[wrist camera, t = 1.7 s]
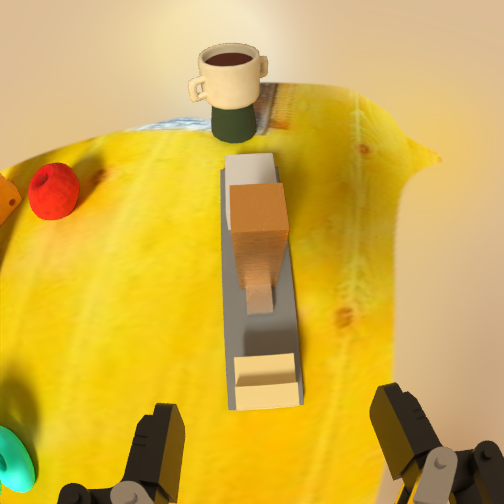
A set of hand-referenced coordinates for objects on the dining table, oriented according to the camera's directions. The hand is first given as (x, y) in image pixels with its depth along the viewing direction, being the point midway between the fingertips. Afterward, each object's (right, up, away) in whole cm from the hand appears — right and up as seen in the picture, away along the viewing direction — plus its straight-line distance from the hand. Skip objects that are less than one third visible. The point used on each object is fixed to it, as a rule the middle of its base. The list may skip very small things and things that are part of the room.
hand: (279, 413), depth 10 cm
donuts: (-33, -22, +10) cm, 41 cm away
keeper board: (-1, +4, +20) cm, 21 cm away
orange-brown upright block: (-1, +8, +21) cm, 22 cm away
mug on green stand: (-4, +23, +29) cm, 37 cm away
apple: (-27, +13, +25) cm, 39 cm away
